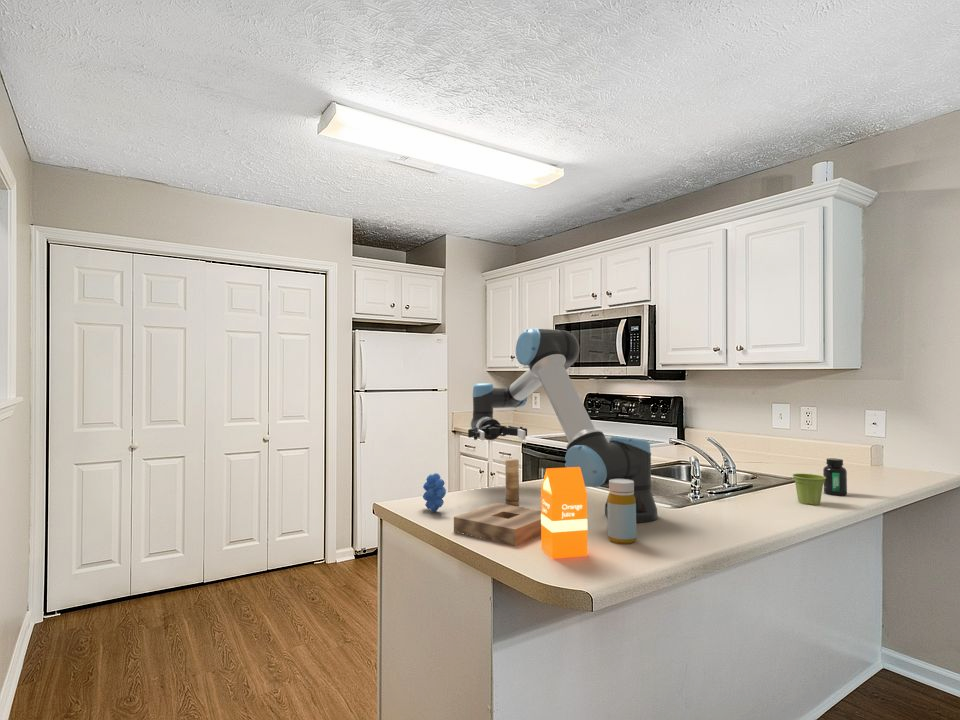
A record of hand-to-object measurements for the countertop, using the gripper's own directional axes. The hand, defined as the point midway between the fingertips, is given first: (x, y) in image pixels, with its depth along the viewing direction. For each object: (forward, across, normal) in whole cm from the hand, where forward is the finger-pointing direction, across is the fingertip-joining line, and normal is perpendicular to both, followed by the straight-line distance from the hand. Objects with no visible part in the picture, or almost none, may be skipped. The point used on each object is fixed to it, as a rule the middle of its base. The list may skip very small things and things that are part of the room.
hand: (504, 435), depth 181 cm
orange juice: (+48, -2, -22) cm, 53 cm away
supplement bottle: (+11, -115, -22) cm, 118 cm away
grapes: (+2, +22, -23) cm, 31 cm away
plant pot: (+20, -96, -22) cm, 101 cm away
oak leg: (+10, 0, -22) cm, 24 cm away
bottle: (+43, -20, -22) cm, 52 cm away
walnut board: (+27, +6, -22) cm, 35 cm away
